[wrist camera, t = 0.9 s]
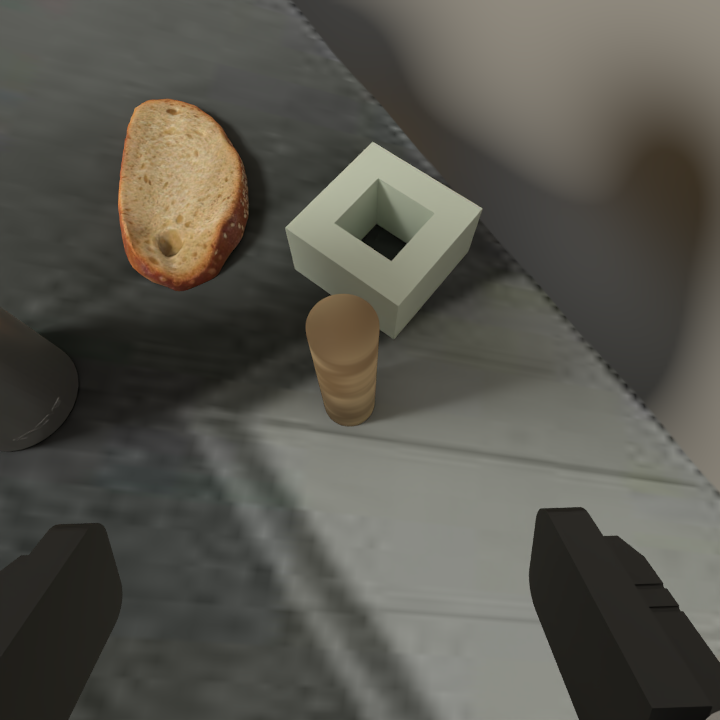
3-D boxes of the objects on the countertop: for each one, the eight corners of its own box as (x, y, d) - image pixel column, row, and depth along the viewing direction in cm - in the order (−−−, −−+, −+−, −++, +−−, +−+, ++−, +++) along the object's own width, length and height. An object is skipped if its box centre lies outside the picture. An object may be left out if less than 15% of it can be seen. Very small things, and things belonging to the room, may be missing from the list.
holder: (295, 269, 45) (285, 227, 39) (371, 190, 48) (372, 142, 42) (393, 339, 42) (398, 306, 37) (468, 251, 45) (482, 208, 40)
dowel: (314, 405, 40) (290, 331, 27) (346, 368, 41) (337, 281, 28) (353, 436, 39) (347, 375, 26) (384, 397, 41) (394, 320, 28)
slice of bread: (164, 99, 53) (150, 67, 50) (307, 169, 50) (302, 139, 46) (41, 221, 48) (16, 194, 44) (193, 309, 44) (178, 287, 41)
